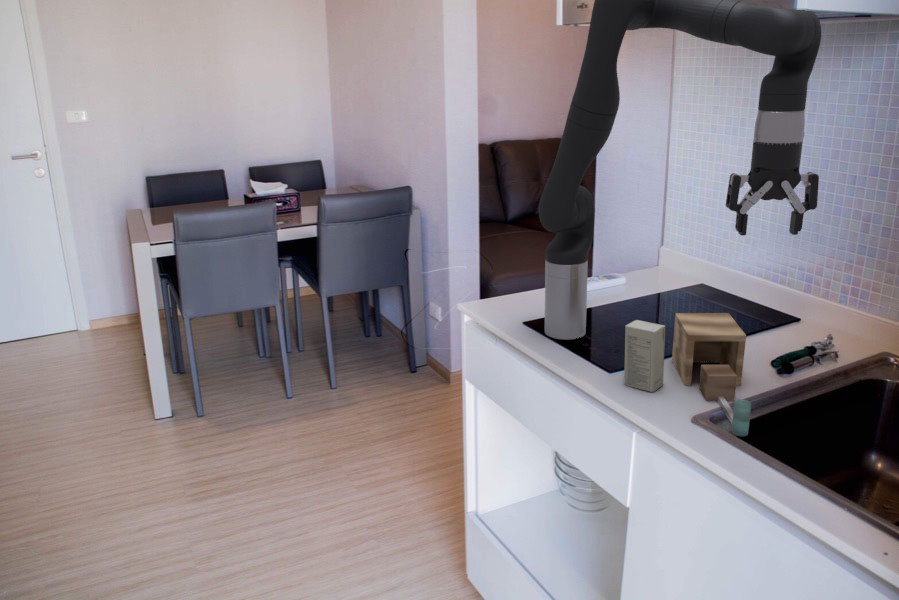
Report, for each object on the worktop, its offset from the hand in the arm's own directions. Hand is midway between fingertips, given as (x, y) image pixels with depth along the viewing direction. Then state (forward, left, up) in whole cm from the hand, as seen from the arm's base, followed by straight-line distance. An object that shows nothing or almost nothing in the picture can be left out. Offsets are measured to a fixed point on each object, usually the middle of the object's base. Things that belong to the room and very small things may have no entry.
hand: (767, 234), depth 128 cm
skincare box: (-3, -19, -30) cm, 36 cm away
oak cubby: (-9, -6, -30) cm, 32 cm away
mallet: (+8, -6, -30) cm, 32 cm away
